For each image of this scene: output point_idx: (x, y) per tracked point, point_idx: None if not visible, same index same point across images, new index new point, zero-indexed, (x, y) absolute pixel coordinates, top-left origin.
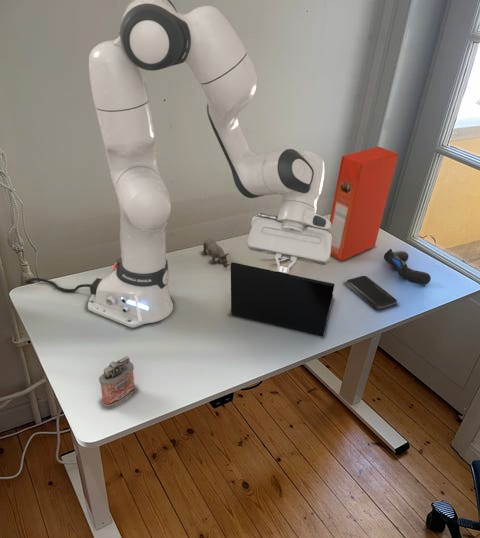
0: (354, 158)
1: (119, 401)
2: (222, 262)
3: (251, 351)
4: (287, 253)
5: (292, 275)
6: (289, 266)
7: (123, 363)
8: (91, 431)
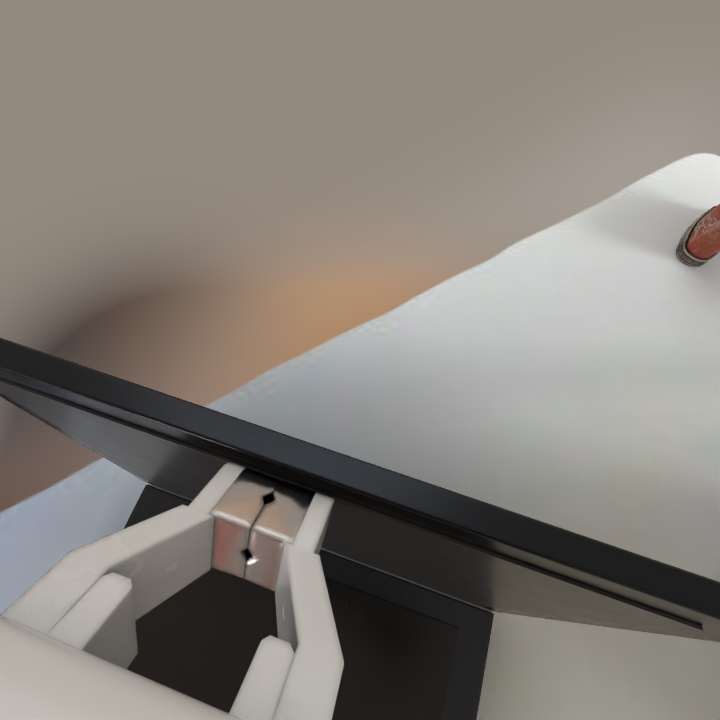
0: None
1: (698, 218)
2: None
3: (407, 399)
4: (118, 680)
5: (194, 425)
6: (184, 516)
7: None
8: (711, 165)
